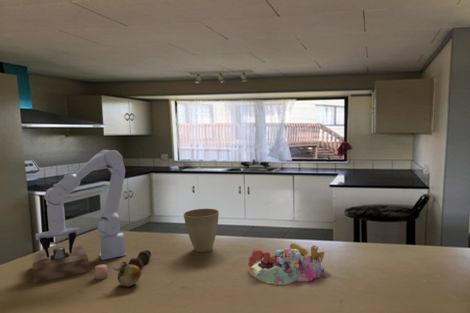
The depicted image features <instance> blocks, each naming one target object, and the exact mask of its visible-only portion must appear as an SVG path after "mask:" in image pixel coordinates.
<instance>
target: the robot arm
mask: <svg viewBox="0 0 470 313" xmlns="http://www.w3.org/2000/svg"><path fill="white" fill-rule="evenodd" d="M123 158H124V157H123V155H121V153H120V152H119V151H118V150H116V149H112V150H110V149H102V150H100V151H98V153H95V155H94V156H92V158H90V159H89V160H88V161H86V163H85V164H84V165H82V166H81V167H80V168H79V169H78V170H77V171H76V172H75V173H69V174H65V175H63V178H62V179H61V180H59V181H58V182H57V183H54V184H53V185H52V187H50V188H48V189H46V191H45V193H44V196H43V198H44V200H45V201H46V211H47V214H46V215H47V224H48V231H42V232H39V233H38V232H37V233H35V241H39V243H40V245H41V246H42V248H43V249H44V252H46V255H47V258H49V251H50V250H49V247H48V244H49V243H48V239H49V238H54V237H59V236H68V248H69V253H72V247H74V243H75V241H76V237H77V234H79V233H80V230H79V227H78V226H77V227H66V217H65V216H66V215H65V206H64V202H65V201H66V197H67V196H68V195H69V194H71V193H72V192H73V191H74V190H75V189H77V188H78V187H79V186H80V185H81V182H82V181H81V180H82V179H83V178H85V177H86V176H88V175H89V174H90V173H91V172H93V171H94V170H95V169H97V168H100V167H106V168H107V169H108V170H109V171H110V174H111V175H110V180H109V185H108V190H107V196H106V201H105V206H104V210H103V211H102V213H101V214H100V218H99V219H98V221H97V222H96V229H97V230H98V231H99V232H100V233H99V245H100V253H98V255H99V258H100V259H101V260H102V261H105V260H109V259H114V258H119V257H123V256H127V253H126V243H125V242H126V241H125V235H124V233H123V232H119V231H120V230H121V224H120V215H119V213H118V212H119V206H120V201H121V196H122V192H123V186H124V181H125V176H126V168H125V163H124V161H123Z"/></svg>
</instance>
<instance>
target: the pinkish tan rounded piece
mask: <svg viewBox="0 0 470 313" xmlns="http://www.w3.org/2000/svg"><path fill="white" fill-rule="evenodd" d="M94 271H95V272H94V273H95V274H94V276H95V280H98V281H99V280H104V279H107V278H108V276H109V275H108V265H107V264H97V265H96V266H94Z"/></svg>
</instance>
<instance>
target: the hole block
mask: <svg viewBox="0 0 470 313" xmlns="http://www.w3.org/2000/svg"><path fill="white" fill-rule="evenodd" d="M48 251H49V258H47V255H46V252H45V251H44V252H39V253H33V254H32V278H33V284H37V283H42V282H46V281H50V280H55V279H60V278H64V277H68V276H73V275H77V274H83V273H88V272H90V269H89V268H90V265H89V258H88V254H87V253H86V250H85V248H84V246H83V245H78V246H73V247H72V253H69V247H65V256H66V258H61V259H55V260H54V254H53V250H51V251H50V250H48Z"/></svg>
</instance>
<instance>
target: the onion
mask: <svg viewBox="0 0 470 313" xmlns="http://www.w3.org/2000/svg"><path fill="white" fill-rule="evenodd" d="M112 270H113V271H115V272H117V278H116V279H117V280H118V283H119V284H120V285H121V286H122V287H129V288H130V287H131V286H133V285H135V284H137V283H138V282H139V281H140V280H139V279H140V277H141V276H142V272H141V271H142V270H141V271H140V269H139V267H138V266H136V265H129V264H128V262H127V261H122V262H121V263H119V266H118V267H117V266H112Z"/></svg>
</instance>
